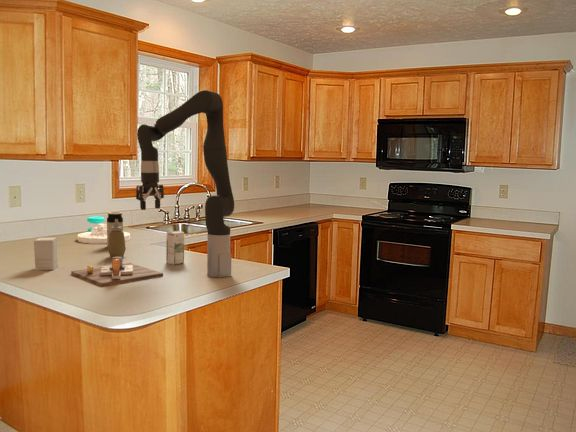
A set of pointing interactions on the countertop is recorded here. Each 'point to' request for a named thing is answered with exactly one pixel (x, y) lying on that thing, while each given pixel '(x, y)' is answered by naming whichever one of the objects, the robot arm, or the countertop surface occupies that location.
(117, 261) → the square frame with handle
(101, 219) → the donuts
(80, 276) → the post board
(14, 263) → the countertop surface
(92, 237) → the cake
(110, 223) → the travel mug
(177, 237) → the syrup box
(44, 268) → the supplement box
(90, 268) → the gold rounded piece
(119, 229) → the squeeze bottle
